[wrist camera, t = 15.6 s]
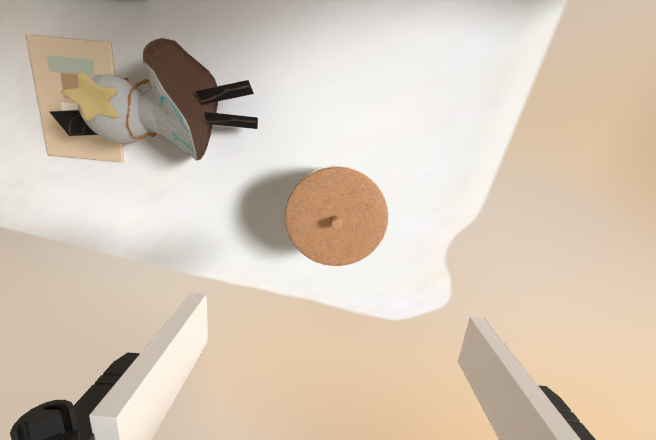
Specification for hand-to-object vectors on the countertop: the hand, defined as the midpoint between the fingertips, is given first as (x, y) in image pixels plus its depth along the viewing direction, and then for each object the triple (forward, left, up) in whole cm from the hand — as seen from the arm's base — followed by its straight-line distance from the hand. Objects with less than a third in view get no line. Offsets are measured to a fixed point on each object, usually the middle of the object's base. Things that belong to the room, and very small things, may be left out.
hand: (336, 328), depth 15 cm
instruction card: (+31, -9, -25) cm, 41 cm away
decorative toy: (+19, -9, -25) cm, 33 cm away
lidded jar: (0, 0, -25) cm, 25 cm away
